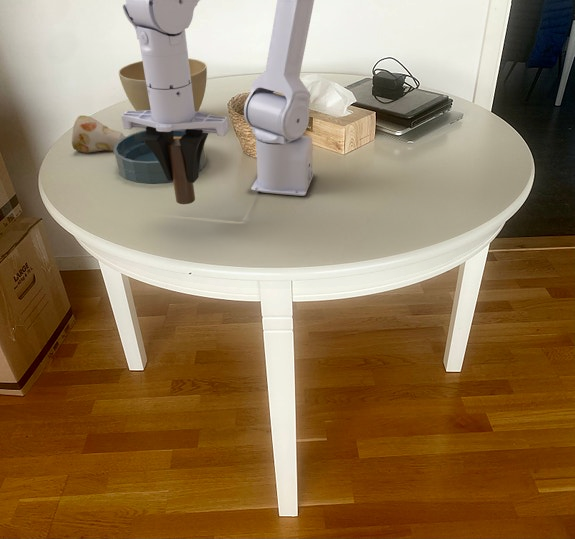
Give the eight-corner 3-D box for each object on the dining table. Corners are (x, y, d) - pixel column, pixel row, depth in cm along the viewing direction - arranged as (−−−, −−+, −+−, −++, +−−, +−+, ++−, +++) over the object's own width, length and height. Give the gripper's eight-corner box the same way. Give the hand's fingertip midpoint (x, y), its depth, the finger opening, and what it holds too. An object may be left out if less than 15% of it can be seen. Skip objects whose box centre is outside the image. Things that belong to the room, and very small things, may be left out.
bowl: (217, 152, 104) (215, 130, 102) (188, 190, 91) (184, 166, 89) (141, 146, 107) (137, 125, 105) (102, 182, 94) (96, 158, 92)
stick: (197, 196, 79) (190, 138, 74) (191, 205, 77) (183, 146, 72) (180, 194, 80) (171, 137, 74) (173, 203, 77) (163, 145, 72)
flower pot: (223, 113, 122) (218, 58, 115) (193, 143, 108) (185, 83, 101) (152, 108, 126) (143, 54, 119) (114, 136, 112) (101, 77, 105)
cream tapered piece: (127, 158, 103) (90, 119, 96) (91, 175, 107) (53, 138, 101) (137, 135, 108) (102, 96, 101) (102, 152, 112) (66, 115, 105)
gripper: (102, 89, 66) (123, 186, 74) (212, 95, 64) (222, 195, 72) (128, 73, 72) (145, 165, 80) (229, 78, 69) (237, 173, 77)
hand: (182, 178), depth 76 cm, fingers closed on stick, 3 cm apart
